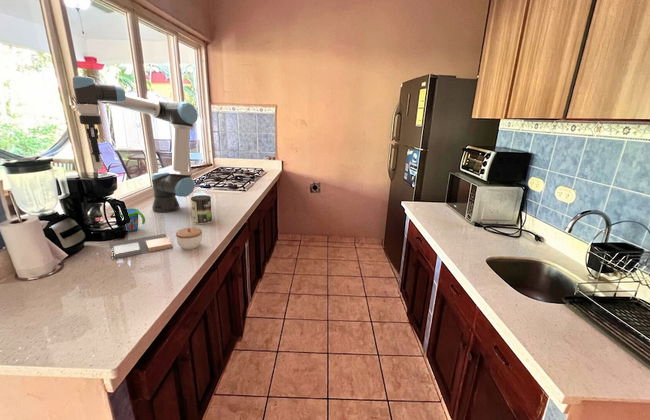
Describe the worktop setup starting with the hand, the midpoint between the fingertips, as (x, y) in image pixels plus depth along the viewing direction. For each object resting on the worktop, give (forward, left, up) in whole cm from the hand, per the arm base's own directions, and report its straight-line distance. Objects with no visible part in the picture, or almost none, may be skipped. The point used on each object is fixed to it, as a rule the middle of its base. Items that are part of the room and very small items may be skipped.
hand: (99, 168), depth 139 cm
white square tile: (+23, +5, -31) cm, 39 cm away
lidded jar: (+35, +29, -33) cm, 56 cm away
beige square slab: (+23, +17, -31) cm, 42 cm away
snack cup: (-2, +8, -33) cm, 34 cm away
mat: (+23, +10, -32) cm, 41 cm away
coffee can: (+2, +43, -33) cm, 54 cm away
